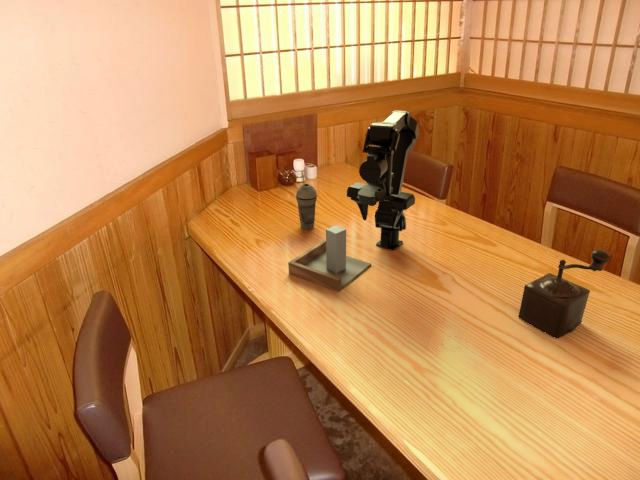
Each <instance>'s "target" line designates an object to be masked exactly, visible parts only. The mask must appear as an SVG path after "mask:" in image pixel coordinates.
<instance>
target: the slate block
mask: <svg viewBox="0 0 640 480" xmlns="http://www.w3.org/2000/svg"><path fill="white" fill-rule="evenodd" d="M325 241H326V268H327V269H329V270H331V271H333V272H335V273H338V272H340V271H342V270H344V269H346V256H347V229H346V228H344V227H342V226H340V225H333V226H330V227H328V228H325Z"/></svg>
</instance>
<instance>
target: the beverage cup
mask: <svg viewBox="0 0 640 480" xmlns="http://www.w3.org/2000/svg"><path fill="white" fill-rule="evenodd" d="M301 178H302V184H301V185H300V186H299V187H298V188H297V190H296V194H295V199H296V202H297V208H298V218H299V223H300V228H301V229H302V230H303V231H304V230H307V231H310V230H313V229H314V228H315V219H316V218H315V216H316V204H317V197H318V193H317V190H316V189H315V187H314V186H313V185H311V184H309V183H305V177H304V171H301Z"/></svg>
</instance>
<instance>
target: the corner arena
mask: <svg viewBox="0 0 640 480" xmlns="http://www.w3.org/2000/svg"><path fill="white" fill-rule="evenodd" d="M287 264H288V274H290V275H292V276H295V277H298V278H300V279H302V280H305V281H309V282H310V283H314V284H317V285H319V286H322V287H324V288H328V289H329V290H333V291H336V292H339V293H340V291H341V290H343V289H344V288H345V287H346V286H347V285H349V284H350V283H351V282H352V281H354V280H355V279H356V278H358V277H359V276H360V275H361V274H363V272H365V271H366V270H367V269H369V268H370V267H371V266H372V263H370V262H367V261H364V260H362V259H358V258H354V257H352V256H348V255H346V269H344V270H342V271H340V272H338V273H335V272H333V271H331V270H329V269H327V268H326V239H325V240H324V239H323V240H321V241H320V242H318V243H316V244H315V245H313V246H312V247H310V248H308V249H307V250H305V251H304V252H302V253H300V255H298V256H296V257H295V258H293V259H291V260H290V261H288V262H287Z"/></svg>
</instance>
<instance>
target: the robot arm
mask: <svg viewBox="0 0 640 480" xmlns="http://www.w3.org/2000/svg"><path fill="white" fill-rule="evenodd" d="M419 134H420V127H419V123H418V121H417V120H416V119H414V117H412V116H411V112H409V111H407V110H393V111H391V114H390V115H389V116H388V117H387V118H386V119H385V120H384V121H379V122H378V121H377V122H372V123H371V124H370V126H369V127H368V128H367V131H366V134H365V135H366V136H365V139H364V144H363V149H362V153H364V154H365V153H366V154H368V155H367V156H366V159H365V160H364V161H363V162H362V163H361V164H360V165H359V170H358V173H359V177H360V178H361V179H362V180H363V181H365V182H366V183H362V182H358V181H357V182H355V183H353V184H352V185H349V186H348V187H347V188H346V197H347V198H350V200H351V201H353V202H354V203H356V205H357V206H358V209H359V211H360V212H359V213H360V214H361V217H362V219H363V221H367V219H368V213H369V211H368V210H369V206H370V207H374V206H376V205H378V206H377V208H376V210H375V212H374V224H375V228H377V229H378V228H379V229H380V240H379V241H378V242H376V243H375V245H376V246H377V247H382V248H385V249H387V250H391V251H395V250H396V249H398V247H400V246H401V245H402V244H403V243H404V241H403V240H400V232H403V231H404V230H407V222H406V221H407V219H406V215H405V213H404V211H406V210H408V209H410V208H411V207H413V205H415V204H416V197H415V195H414V193H409V192H404V191H403V190H402V189H403V184H404V178H405V173H406V172H405V171H406V168H407V167H406V166H407V161H408V156H409V153H410V152H411V151H412V150H413V149H414V148H415V146H416V142H417V140H418V139H419V136H420V135H419ZM377 203H378V204H377Z"/></svg>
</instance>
